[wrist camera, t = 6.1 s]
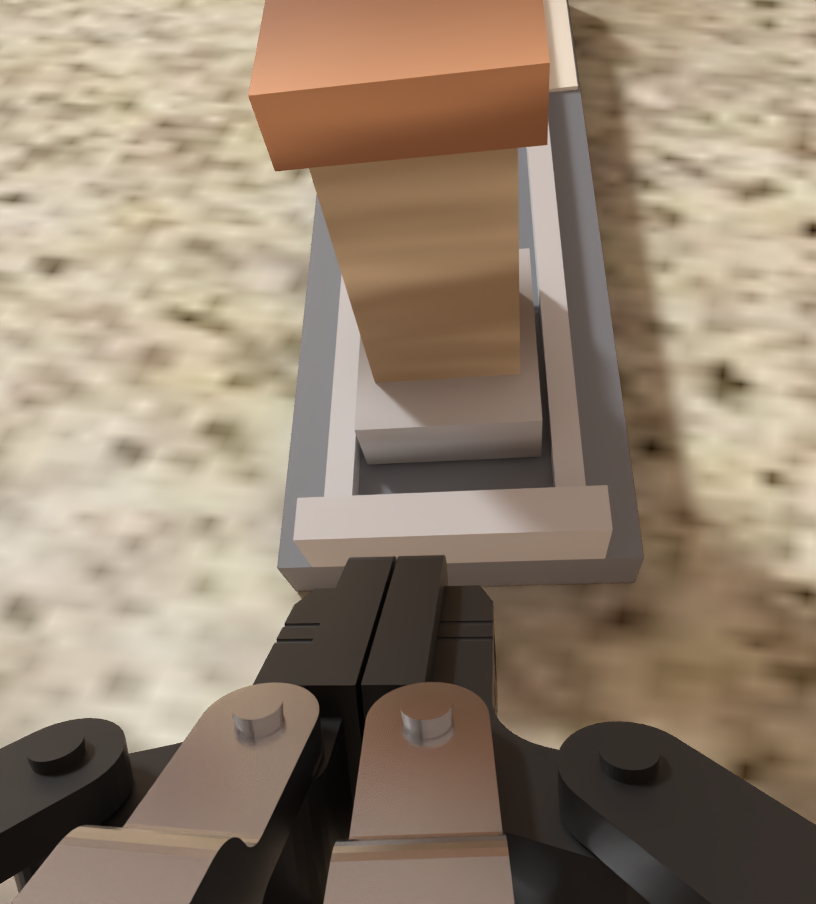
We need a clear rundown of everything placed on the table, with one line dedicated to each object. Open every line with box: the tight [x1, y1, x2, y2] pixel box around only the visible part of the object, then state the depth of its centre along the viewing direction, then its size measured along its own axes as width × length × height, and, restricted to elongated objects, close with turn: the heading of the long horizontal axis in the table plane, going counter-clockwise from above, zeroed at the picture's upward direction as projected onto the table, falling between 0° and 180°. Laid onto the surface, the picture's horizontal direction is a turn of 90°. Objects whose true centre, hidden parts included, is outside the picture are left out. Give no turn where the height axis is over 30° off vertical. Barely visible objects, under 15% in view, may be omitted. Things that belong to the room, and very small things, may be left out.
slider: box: [248, 0, 550, 465], centre depth 19 cm, size 6×5×12 cm
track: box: [277, 0, 644, 591], centre depth 28 cm, size 28×10×4 cm, turn 178°
